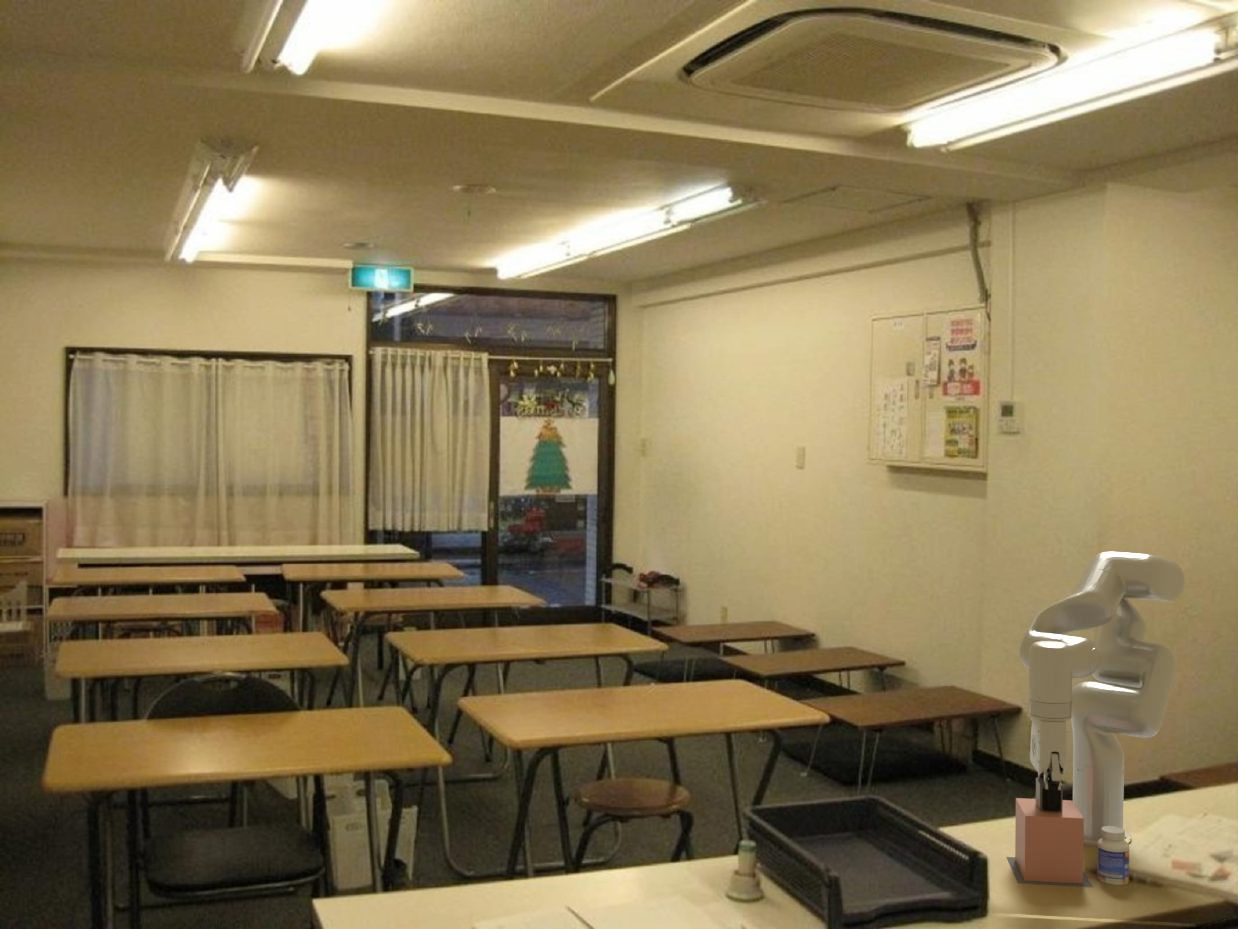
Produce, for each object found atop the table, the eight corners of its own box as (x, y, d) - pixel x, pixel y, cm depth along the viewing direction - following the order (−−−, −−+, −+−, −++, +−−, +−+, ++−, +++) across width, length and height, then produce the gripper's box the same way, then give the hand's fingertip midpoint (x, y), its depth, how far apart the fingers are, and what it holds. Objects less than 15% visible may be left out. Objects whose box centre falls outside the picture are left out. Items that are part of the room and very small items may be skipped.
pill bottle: (1131, 888, 220) (1132, 835, 220) (1099, 886, 221) (1100, 833, 221) (1125, 877, 225) (1126, 825, 225) (1094, 874, 226) (1095, 823, 226)
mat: (1006, 859, 234) (1006, 857, 234) (1077, 863, 232) (1077, 860, 232) (1018, 885, 221) (1018, 883, 221) (1092, 889, 219) (1092, 887, 219)
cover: (1015, 860, 233) (1016, 772, 232) (1070, 862, 231) (1071, 774, 230) (1024, 880, 223) (1025, 788, 222) (1083, 883, 221) (1084, 791, 220)
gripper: (1021, 697, 234) (1020, 791, 235) (1037, 719, 218) (1036, 820, 219) (1061, 698, 233) (1060, 793, 234) (1081, 721, 217) (1080, 822, 217)
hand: (1048, 805), depth 226 cm, fingers closed on cover, 4 cm apart
